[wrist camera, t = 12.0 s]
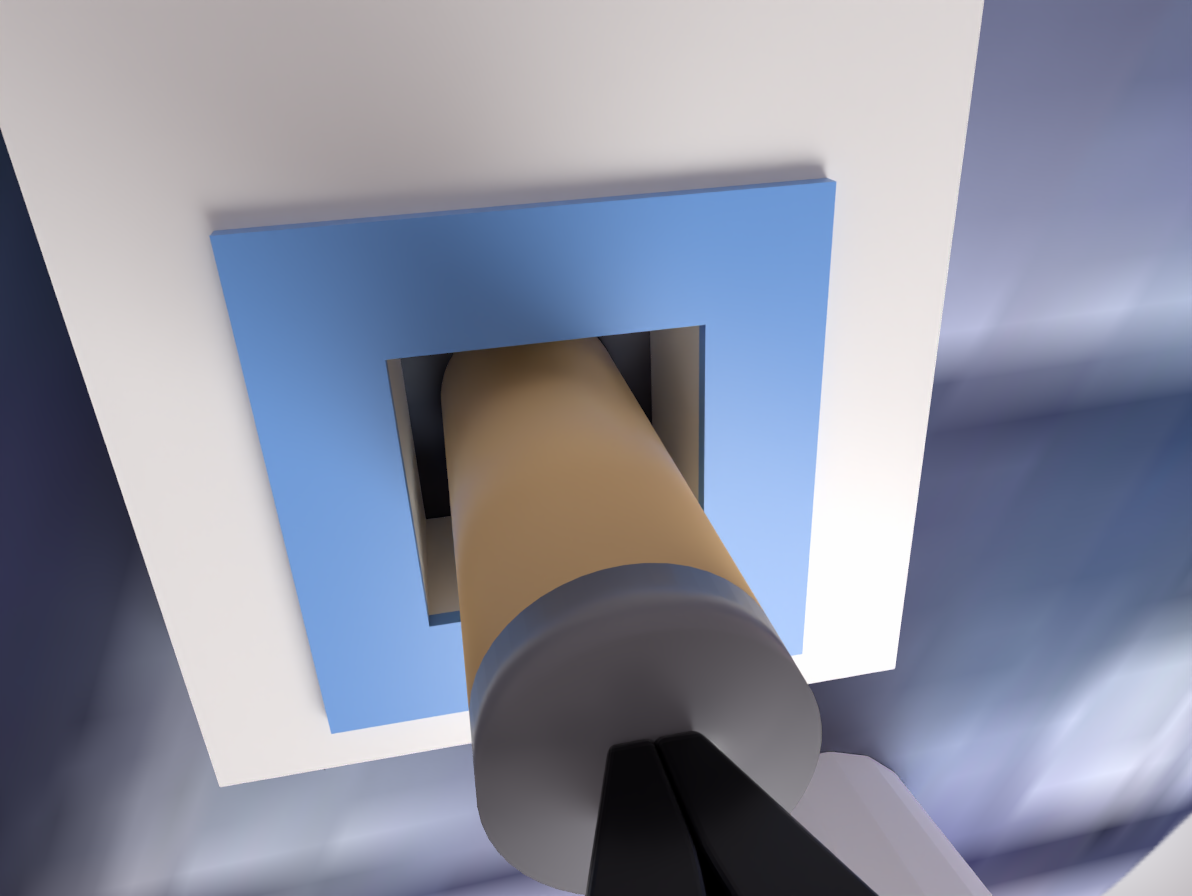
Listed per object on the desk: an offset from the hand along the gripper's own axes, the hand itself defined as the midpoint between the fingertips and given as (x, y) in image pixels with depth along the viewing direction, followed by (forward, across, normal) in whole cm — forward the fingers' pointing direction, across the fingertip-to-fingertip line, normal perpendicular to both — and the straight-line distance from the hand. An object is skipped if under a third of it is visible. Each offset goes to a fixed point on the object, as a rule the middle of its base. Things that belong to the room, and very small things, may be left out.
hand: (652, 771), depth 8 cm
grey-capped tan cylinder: (+9, 0, 0) cm, 9 cm away
